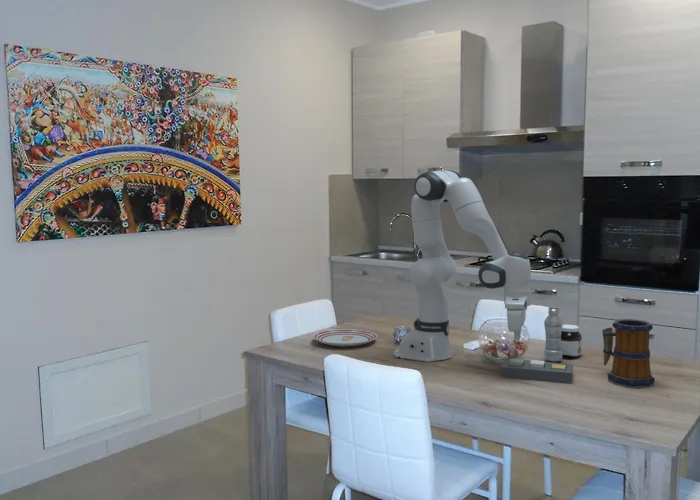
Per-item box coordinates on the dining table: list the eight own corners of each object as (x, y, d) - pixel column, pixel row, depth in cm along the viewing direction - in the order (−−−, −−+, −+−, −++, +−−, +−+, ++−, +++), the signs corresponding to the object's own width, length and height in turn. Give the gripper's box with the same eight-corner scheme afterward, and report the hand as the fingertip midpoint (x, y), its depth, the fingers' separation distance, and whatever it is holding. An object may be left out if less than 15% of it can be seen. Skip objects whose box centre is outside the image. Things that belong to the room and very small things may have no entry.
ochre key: (551, 373, 213) (551, 367, 213) (552, 369, 217) (552, 364, 217) (565, 374, 212) (565, 368, 211) (565, 370, 216) (565, 365, 215)
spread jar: (571, 360, 234) (571, 330, 233) (544, 355, 243) (544, 325, 242) (587, 354, 242) (587, 325, 241) (560, 349, 251) (561, 320, 249)
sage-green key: (509, 367, 218) (509, 361, 218) (510, 363, 222) (510, 358, 222) (522, 368, 217) (522, 362, 216) (523, 364, 221) (523, 359, 220)
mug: (587, 374, 217) (588, 317, 215) (618, 369, 223) (619, 313, 221) (632, 391, 199) (633, 329, 197) (664, 384, 205) (667, 324, 203)
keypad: (501, 376, 216) (501, 366, 216) (505, 368, 226) (505, 358, 226) (571, 383, 208) (572, 373, 207) (573, 374, 218) (573, 364, 218)
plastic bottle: (563, 364, 230) (564, 310, 228) (544, 363, 231) (545, 310, 229) (561, 359, 236) (562, 307, 234) (542, 358, 237) (543, 306, 235)
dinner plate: (338, 332, 287) (338, 325, 287) (389, 340, 271) (389, 332, 271) (300, 345, 265) (299, 337, 265) (352, 354, 249) (352, 346, 249)
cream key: (530, 369, 216) (530, 363, 215) (531, 365, 220) (531, 359, 219) (543, 370, 214) (543, 364, 214) (544, 366, 218) (544, 361, 218)
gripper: (511, 294, 228) (511, 331, 229) (504, 304, 209) (504, 345, 210) (529, 295, 225) (529, 333, 227) (523, 305, 206) (523, 346, 208)
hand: (517, 339), depth 218 cm, fingers closed
